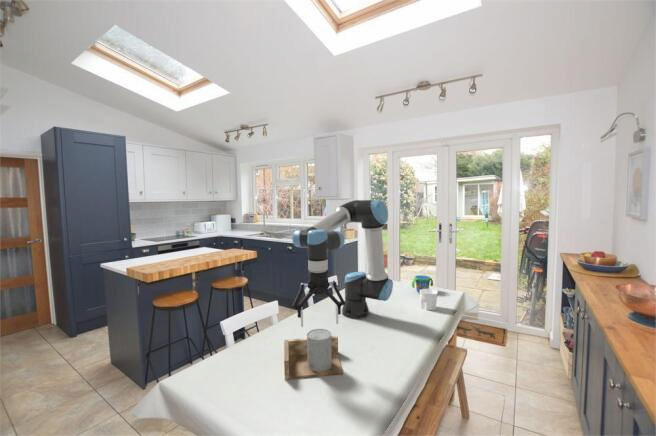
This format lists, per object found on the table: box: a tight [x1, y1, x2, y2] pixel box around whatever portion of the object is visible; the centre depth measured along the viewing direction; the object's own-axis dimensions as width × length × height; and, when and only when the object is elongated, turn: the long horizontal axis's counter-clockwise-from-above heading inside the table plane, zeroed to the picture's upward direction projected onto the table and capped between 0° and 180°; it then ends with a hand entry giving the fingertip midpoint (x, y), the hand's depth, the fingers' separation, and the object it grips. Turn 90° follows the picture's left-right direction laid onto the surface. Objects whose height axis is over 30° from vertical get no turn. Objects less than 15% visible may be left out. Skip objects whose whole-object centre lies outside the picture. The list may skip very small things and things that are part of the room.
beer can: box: [306, 328, 333, 372], centre depth 120 cm, size 10×10×12 cm
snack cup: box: [411, 274, 434, 293], centre depth 211 cm, size 16×10×10 cm
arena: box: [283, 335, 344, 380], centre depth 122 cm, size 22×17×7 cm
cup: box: [419, 288, 438, 311], centre depth 181 cm, size 10×10×10 cm
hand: (319, 323), depth 120 cm, fingers open, 13 cm apart
